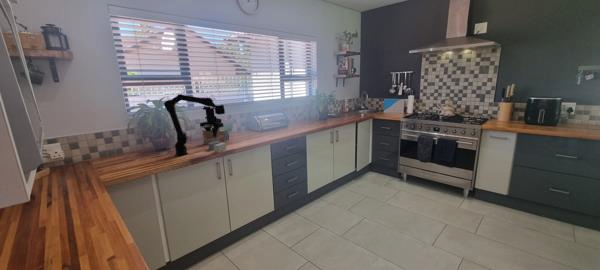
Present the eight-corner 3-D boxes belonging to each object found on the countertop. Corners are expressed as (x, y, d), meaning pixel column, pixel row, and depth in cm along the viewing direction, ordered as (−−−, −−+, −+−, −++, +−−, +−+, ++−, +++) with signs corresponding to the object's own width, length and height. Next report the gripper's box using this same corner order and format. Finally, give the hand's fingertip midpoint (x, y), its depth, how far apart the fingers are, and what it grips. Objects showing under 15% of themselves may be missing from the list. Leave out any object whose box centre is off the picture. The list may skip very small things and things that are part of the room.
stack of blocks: (224, 138, 226) (223, 125, 223) (229, 139, 222) (228, 126, 219) (203, 143, 209) (202, 129, 206) (208, 145, 205) (206, 130, 202)
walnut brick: (211, 139, 180) (210, 132, 179) (206, 138, 182) (205, 131, 181) (219, 136, 187) (218, 129, 185) (214, 136, 189) (214, 129, 187)
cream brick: (219, 152, 183) (218, 145, 182) (214, 151, 185) (213, 145, 184) (226, 149, 191) (225, 143, 190) (221, 148, 192) (221, 142, 191)
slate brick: (211, 150, 189) (211, 144, 188) (208, 149, 192) (208, 143, 191) (221, 148, 195) (220, 141, 194) (217, 147, 198) (217, 141, 197)
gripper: (227, 114, 183) (230, 134, 186) (210, 113, 192) (212, 132, 195) (216, 116, 173) (218, 138, 177) (198, 115, 182) (200, 136, 186)
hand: (213, 136), depth 184 cm, fingers closed on walnut brick, 5 cm apart
